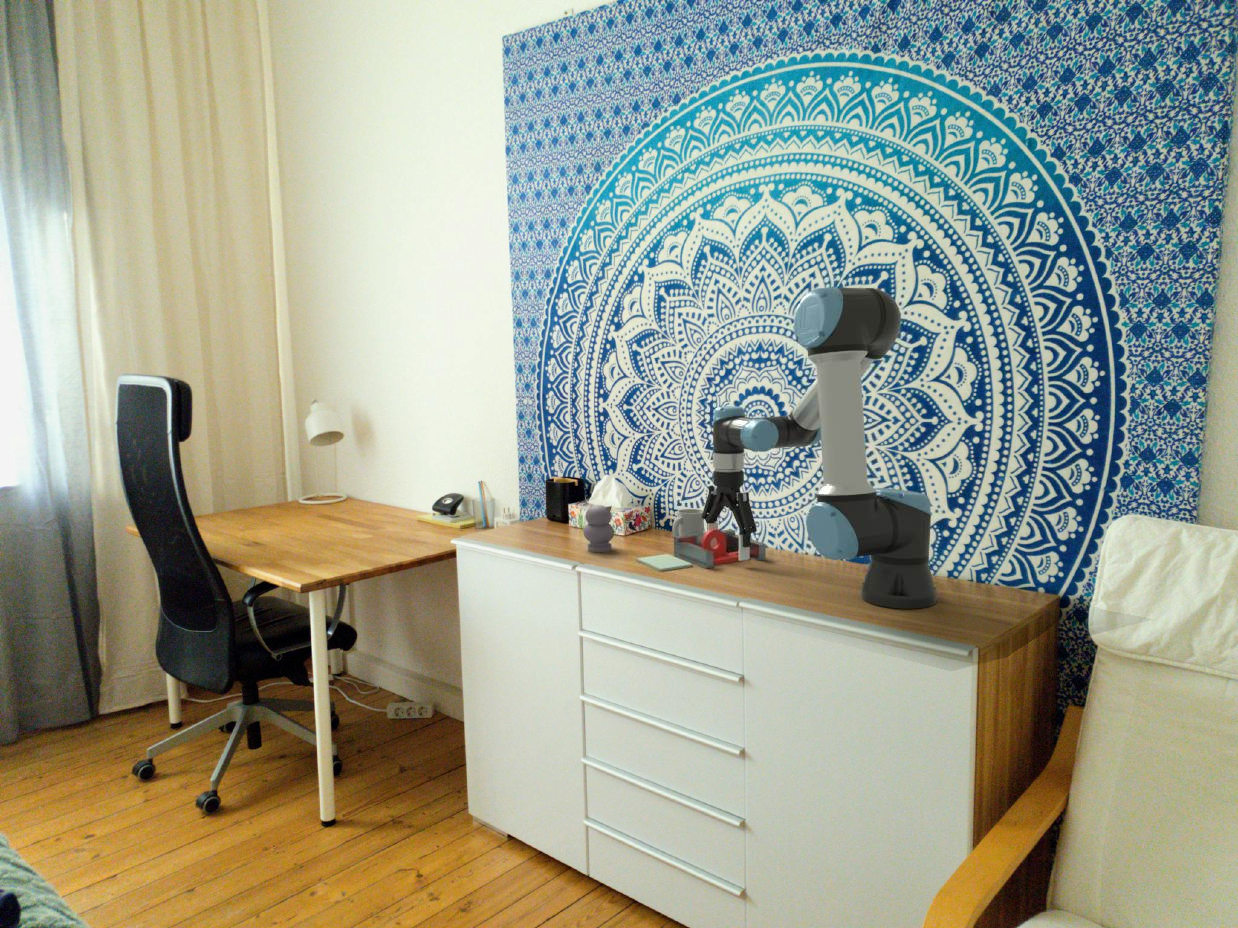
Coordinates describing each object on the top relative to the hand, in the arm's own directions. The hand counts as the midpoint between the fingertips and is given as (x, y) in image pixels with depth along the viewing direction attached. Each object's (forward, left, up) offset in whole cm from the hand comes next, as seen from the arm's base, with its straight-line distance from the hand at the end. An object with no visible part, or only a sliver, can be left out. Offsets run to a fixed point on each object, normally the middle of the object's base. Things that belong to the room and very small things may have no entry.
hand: (727, 554), depth 219 cm
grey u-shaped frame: (+6, 0, -2) cm, 6 cm away
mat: (+6, +15, -2) cm, 16 cm away
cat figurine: (+28, +22, -2) cm, 36 cm away
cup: (+21, -1, -2) cm, 21 cm away
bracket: (+1, 0, -2) cm, 2 cm away
